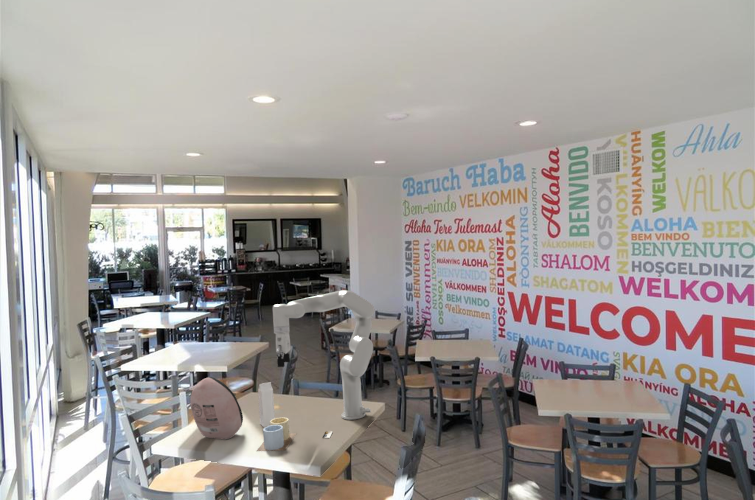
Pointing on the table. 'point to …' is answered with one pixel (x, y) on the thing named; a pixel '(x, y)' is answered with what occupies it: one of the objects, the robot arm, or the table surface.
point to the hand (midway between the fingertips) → (283, 364)
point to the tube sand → (284, 423)
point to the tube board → (288, 441)
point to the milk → (266, 403)
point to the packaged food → (215, 409)
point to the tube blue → (273, 437)
